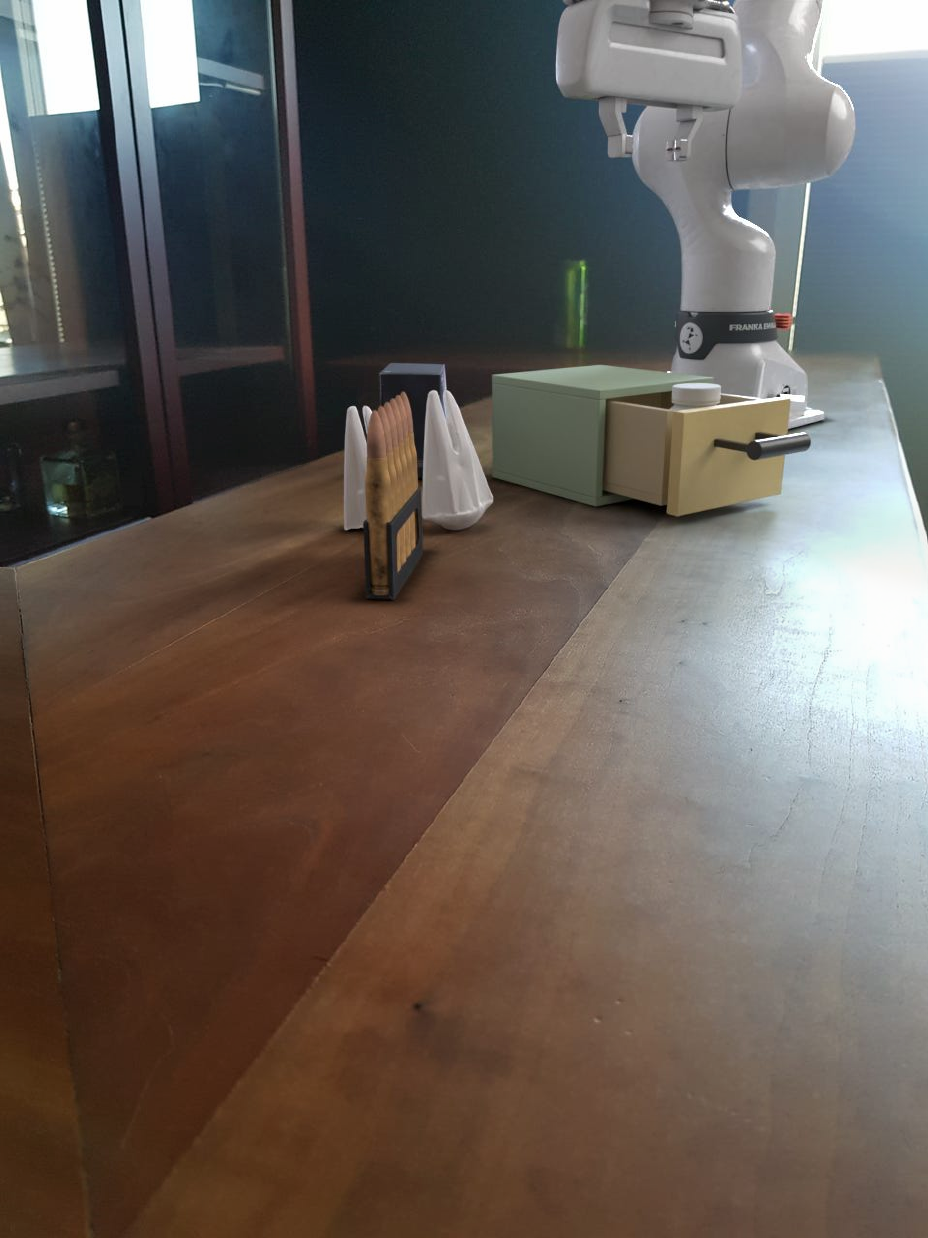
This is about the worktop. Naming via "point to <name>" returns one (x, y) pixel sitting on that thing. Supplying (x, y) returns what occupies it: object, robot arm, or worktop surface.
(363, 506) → the shaker set
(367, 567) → the ammunition clip
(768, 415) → the drawer
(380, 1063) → the worktop surface
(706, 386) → the pill bottle
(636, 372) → the cabinet
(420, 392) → the small box
